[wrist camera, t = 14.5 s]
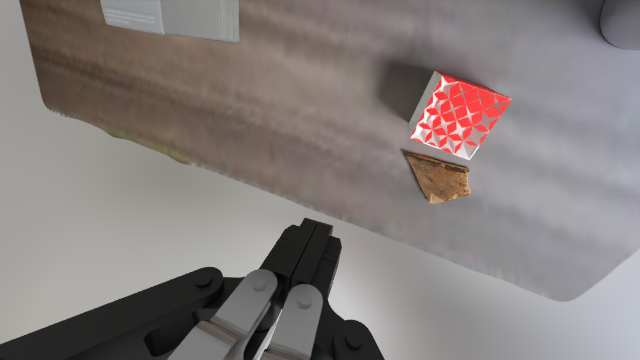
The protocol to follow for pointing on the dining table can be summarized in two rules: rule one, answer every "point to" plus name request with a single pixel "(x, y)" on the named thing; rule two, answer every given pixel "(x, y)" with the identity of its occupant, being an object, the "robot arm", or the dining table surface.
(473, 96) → the red white patterned cube
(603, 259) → the dining table surface
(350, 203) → the dining table surface
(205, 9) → the skincare box
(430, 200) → the shard
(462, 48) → the dining table surface
